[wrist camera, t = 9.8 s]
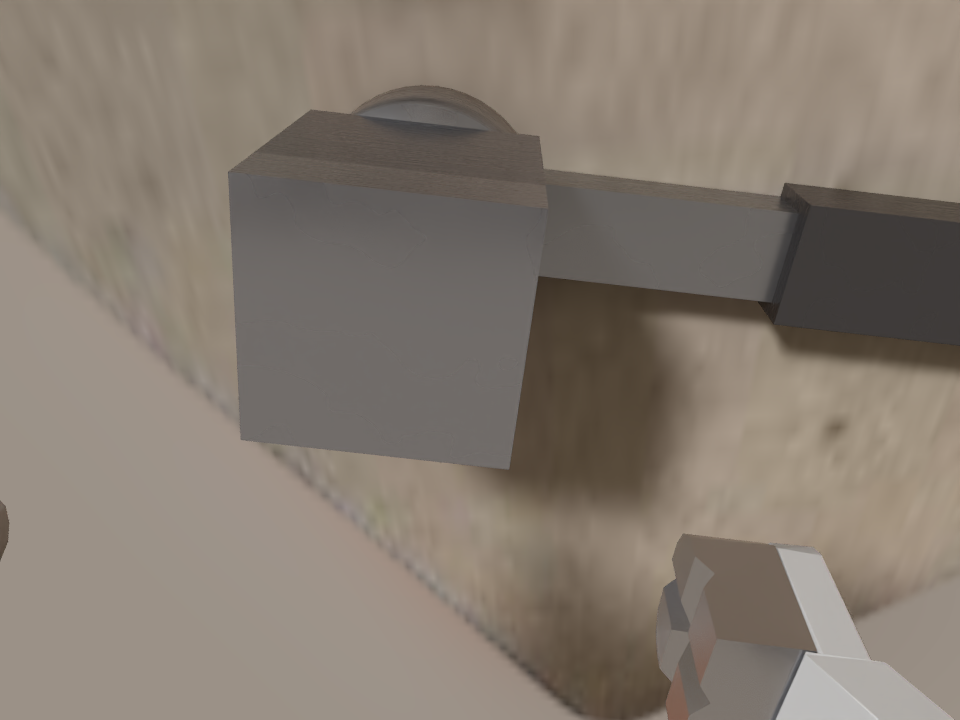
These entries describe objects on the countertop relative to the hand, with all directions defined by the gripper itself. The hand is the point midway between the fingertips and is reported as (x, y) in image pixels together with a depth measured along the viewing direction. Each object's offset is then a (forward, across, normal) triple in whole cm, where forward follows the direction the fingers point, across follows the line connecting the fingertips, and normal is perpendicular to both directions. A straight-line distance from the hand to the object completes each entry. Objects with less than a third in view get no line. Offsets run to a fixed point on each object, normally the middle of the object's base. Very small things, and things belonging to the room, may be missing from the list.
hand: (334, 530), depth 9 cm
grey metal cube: (+12, +1, 0) cm, 12 cm away
